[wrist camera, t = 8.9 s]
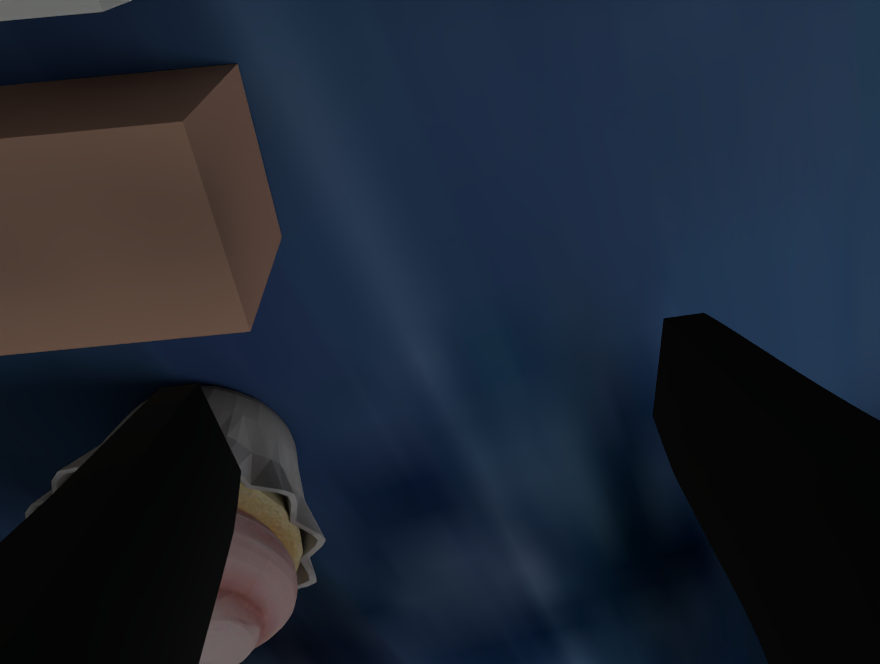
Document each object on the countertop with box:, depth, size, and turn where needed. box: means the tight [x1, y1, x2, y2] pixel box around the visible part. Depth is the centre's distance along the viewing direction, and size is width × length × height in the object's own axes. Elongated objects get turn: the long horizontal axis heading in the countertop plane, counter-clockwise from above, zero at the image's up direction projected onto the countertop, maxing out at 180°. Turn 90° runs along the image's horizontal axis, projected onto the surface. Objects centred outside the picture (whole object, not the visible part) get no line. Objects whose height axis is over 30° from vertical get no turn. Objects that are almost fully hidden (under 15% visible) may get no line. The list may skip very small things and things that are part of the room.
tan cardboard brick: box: [0, 64, 282, 356], centre depth 15 cm, size 9×5×5 cm, turn 94°
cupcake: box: [25, 386, 325, 664], centre depth 19 cm, size 9×9×10 cm
